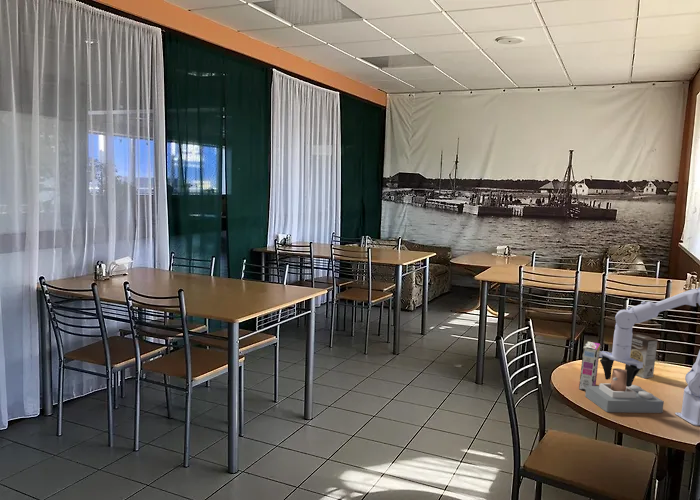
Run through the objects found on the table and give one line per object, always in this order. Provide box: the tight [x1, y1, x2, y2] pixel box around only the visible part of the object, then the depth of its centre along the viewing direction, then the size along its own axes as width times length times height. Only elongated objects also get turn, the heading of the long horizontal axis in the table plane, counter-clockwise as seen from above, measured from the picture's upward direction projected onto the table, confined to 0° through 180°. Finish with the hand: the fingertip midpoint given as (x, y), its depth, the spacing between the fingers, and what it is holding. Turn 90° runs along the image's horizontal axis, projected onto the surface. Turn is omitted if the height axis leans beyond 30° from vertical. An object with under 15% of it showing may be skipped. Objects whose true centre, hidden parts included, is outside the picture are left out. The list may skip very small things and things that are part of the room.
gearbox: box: [584, 382, 664, 414], centre depth 191 cm, size 14×20×6 cm
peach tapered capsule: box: [610, 367, 627, 391], centre depth 190 cm, size 5×7×8 cm
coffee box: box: [624, 333, 659, 379], centre depth 226 cm, size 9×6×16 cm
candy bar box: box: [578, 341, 601, 392], centre depth 207 cm, size 11×5×16 cm, turn 149°
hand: (618, 382), depth 190 cm, fingers open, 7 cm apart
